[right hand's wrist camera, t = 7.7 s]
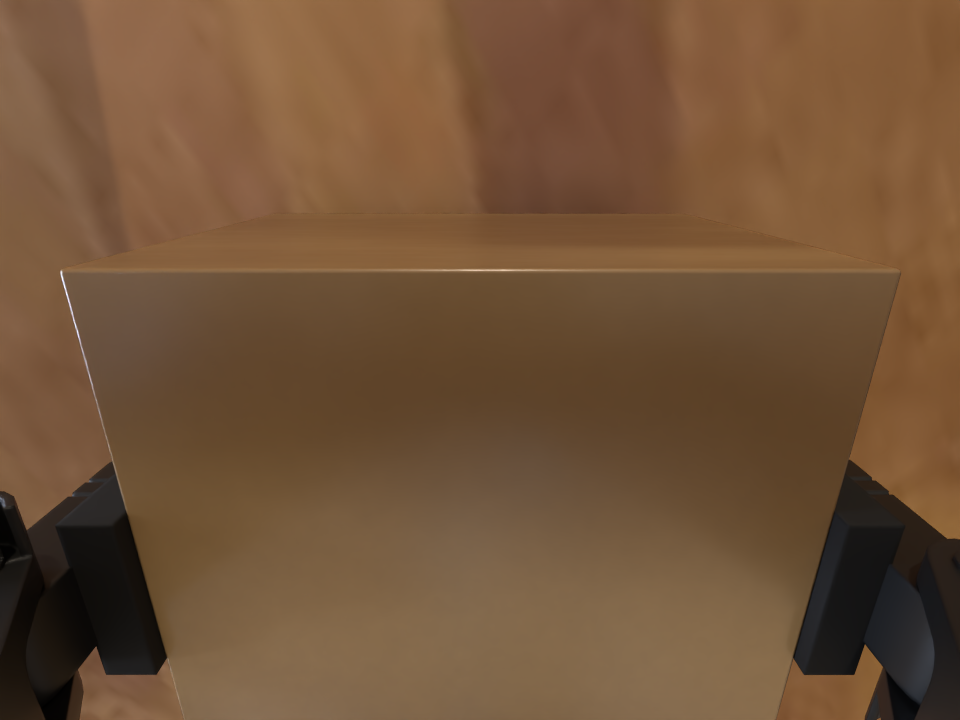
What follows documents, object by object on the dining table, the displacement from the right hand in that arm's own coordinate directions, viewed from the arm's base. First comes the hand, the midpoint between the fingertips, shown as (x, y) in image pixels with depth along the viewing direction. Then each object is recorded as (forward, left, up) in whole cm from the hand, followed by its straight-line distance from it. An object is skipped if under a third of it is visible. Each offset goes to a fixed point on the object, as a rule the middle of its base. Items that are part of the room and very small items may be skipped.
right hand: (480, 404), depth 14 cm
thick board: (+2, -24, -1) cm, 24 cm away
